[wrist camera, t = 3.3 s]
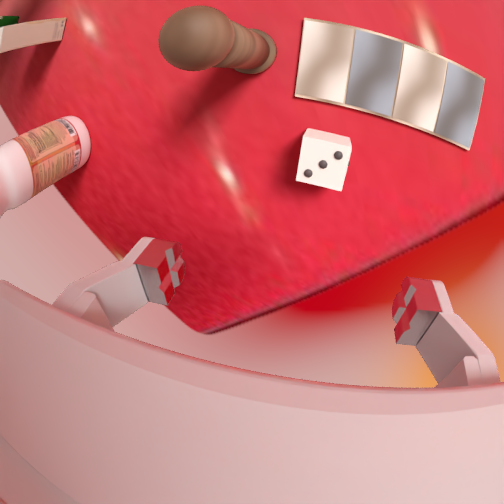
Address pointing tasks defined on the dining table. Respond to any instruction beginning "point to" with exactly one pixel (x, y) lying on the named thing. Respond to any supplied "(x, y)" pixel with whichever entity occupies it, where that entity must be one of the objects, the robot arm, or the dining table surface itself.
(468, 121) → the board
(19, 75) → the dining table surface
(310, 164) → the die
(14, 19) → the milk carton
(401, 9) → the dining table surface
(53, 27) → the skincare box
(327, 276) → the dining table surface
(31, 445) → the robot arm
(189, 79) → the dining table surface
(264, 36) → the pawn
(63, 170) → the fruit juice
